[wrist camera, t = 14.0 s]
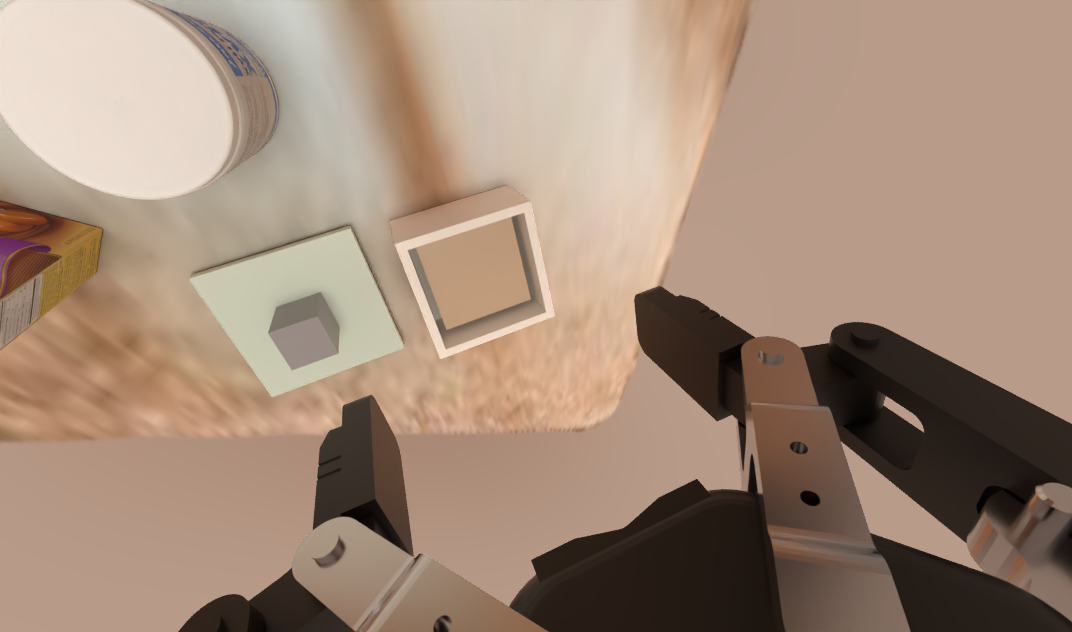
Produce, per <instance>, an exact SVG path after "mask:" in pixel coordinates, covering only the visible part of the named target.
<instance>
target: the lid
mask: <svg viewBox="0 0 1072 632" xmlns="http://www.w3.org/2000/svg"><path fill="white" fill-rule="evenodd" d="M189 281H190V282H191V283H192V285H193V286H194V288H195V289H196V291H197V292H198V293H199V295H200V296H201V298H202V299H203V300H204V302H205V303H206V305H207V306H208V308H209V309H210V310H211V312H212V313H213V315H214V316H215V317H216V319H217V320H218V322H219V323H220V324H221V326H222V327H223V329H224V330H225V332H226V333H227V334H228V336H229V337H230V339H231V340H232V341H233V343H234V344H235V346H236V347H237V348H238V350H239V351H240V353H241V354H242V356H243V357H244V358H245V360H246V361H247V363H248V364H249V365H250V367H251V368H252V370H253V371H254V372H255V374H256V375H257V377H258V378H259V380H260V381H261V382H262V384H263V385H264V387H265V388H266V389H267V391H268V392H269V394H270V395H271V396H272V397H274V396H277V395H279V394H282V393H285V392H287V391H290V390H293V389H295V388H298V387H301V386H304V385H306V384H309V383H312V382H314V381H317V380H320V379H322V378H325V377H328V376H330V375H333V374H336V373H338V372H341V371H344V370H347V369H349V368H352V367H355V366H357V365H360V364H363V363H365V362H368V361H371V360H373V359H376V358H379V357H381V356H384V355H387V354H389V353H392V352H395V351H398V350H400V349H403V348H405V347H404V342H403V340H402V338H401V336H400V334H399V331H398V329H397V327H396V325H395V323H394V320H393V318H392V316H391V314H390V312H389V309H388V307H387V305H386V303H385V301H384V298H383V296H382V294H381V292H380V290H379V287H378V285H377V283H376V281H375V279H374V276H373V274H372V272H371V270H370V267H369V265H368V263H367V261H366V259H365V256H364V254H363V252H362V250H361V248H360V245H359V243H358V241H357V239H356V237H355V234H354V232H353V230H352V228H351V226H347V227H343V228H340V229H337V230H334V231H330V232H327V233H324V234H321V235H318V236H314V237H311V238H308V239H305V240H301V241H298V242H295V243H292V244H288V245H285V246H282V247H279V248H276V249H272V250H269V251H266V252H263V253H259V254H256V255H253V256H250V257H247V258H243V259H240V260H237V261H234V262H230V263H227V264H224V265H221V266H217V267H214V268H211V269H208V270H205V271H201V272H198V273H195V274H192V275H191V276H190V277H189Z"/></svg>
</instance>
